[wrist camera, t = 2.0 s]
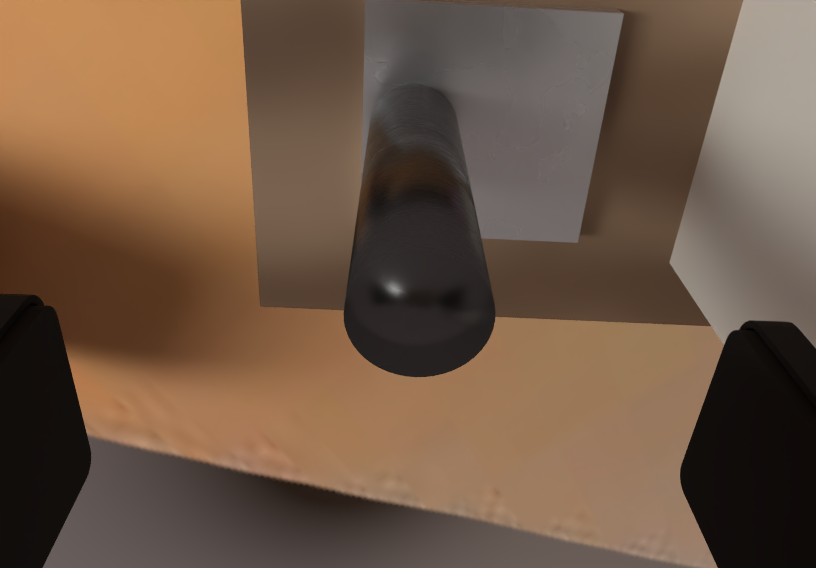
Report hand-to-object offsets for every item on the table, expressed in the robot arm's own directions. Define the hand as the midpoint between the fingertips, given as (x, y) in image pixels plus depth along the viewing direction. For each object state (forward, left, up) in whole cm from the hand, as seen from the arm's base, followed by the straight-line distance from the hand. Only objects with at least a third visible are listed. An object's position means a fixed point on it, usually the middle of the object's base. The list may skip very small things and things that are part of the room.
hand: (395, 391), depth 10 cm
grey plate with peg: (0, -2, -13) cm, 13 cm away
